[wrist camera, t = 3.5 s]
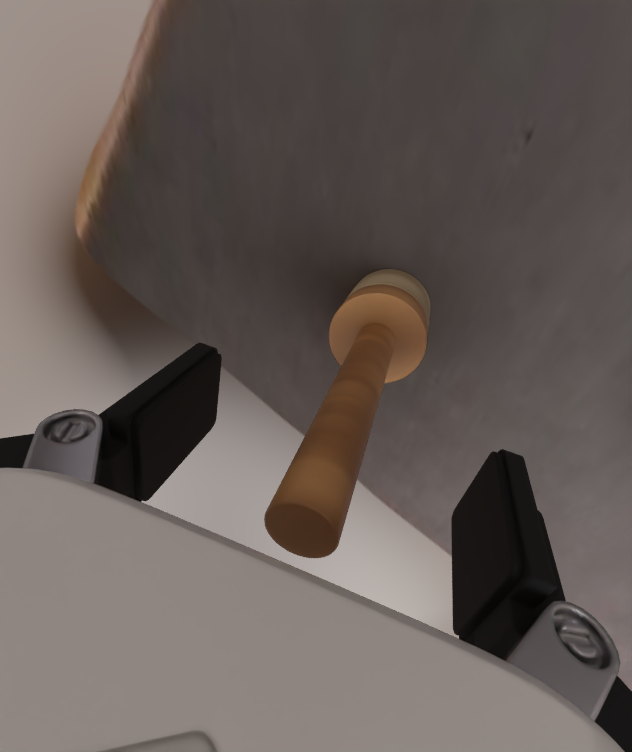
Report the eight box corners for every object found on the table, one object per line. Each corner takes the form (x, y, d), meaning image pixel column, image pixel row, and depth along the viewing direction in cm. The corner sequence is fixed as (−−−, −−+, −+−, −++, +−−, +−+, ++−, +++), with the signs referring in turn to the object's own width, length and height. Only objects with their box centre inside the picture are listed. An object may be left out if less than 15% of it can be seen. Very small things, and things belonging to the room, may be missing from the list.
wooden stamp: (334, 292, 22) (173, 480, 9) (407, 252, 20) (333, 425, 7) (371, 358, 23) (278, 603, 10) (444, 327, 21) (439, 589, 8)
